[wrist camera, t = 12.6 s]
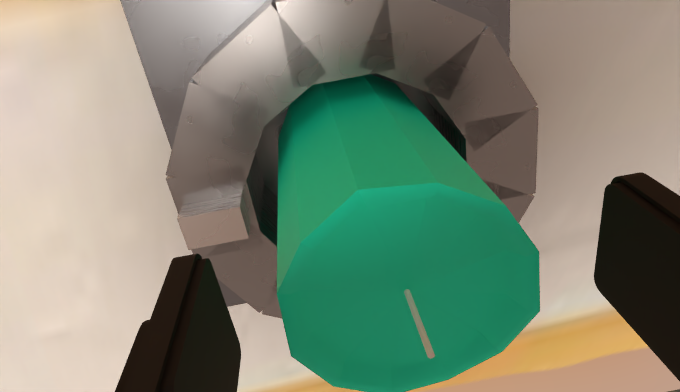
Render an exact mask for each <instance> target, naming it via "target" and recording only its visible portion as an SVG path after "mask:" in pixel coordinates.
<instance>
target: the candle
mask: <svg viewBox="0 0 680 392" xmlns="http://www.w3.org/2000/svg"><path fill="white" fill-rule="evenodd" d="M277 297H278V302H279V306H280V310H281V315H282V319H283V323H284V328H285V332H286V336H287V340H288V345H289V349H290V353H291V356H292V357H293V358H295V359H296V360H297V361H299V362H300V363H302V364H303V365H304V366H306V367H307V368H309V369H310V370H311V371H313V372H314V373H316V374H317V375H318V376H320V377H321V378H322V379H324V380H325V381H327V382H328V383H329V384H331V385H332V386H335V387H341V388H347V389H353V390H359V391H364V392H406V391H409V390H413V389H416V388H420V387H424V386H427V385H431V384H434V383H438V382H441V381H445V380H449V379H450V378H452V377H454V376H456V375H458V374H460V373H462V372H464V371H466V370H468V369H470V368H472V367H474V366H476V365H478V364H479V363H481V362H483V361H485V360H487V359H489V358H491V357H493V356H495V355H497V354H499V353H501V352H502V351H503V350H504V349H505V348H506V347H507V346H508V345H509V344H510V343H511V342H512V341H513V339H514V338H515V337H516V336H517V335H518V334H519V333H520V332H521V331H522V330H523V329H524V328H525V327H526V325H527V324H528V323H529V322H530V321H531V320H532V319H533V318H534V317H535V316H536V315H537V314H538V312H539V311H540V287H539V251H538V249H537V248H536V247H535V245H534V244H533V243H532V241H531V240H530V238H529V237H528V236H527V234H526V233H525V232H524V230H523V229H522V227H521V226H520V225H519V223H518V222H517V221H516V219H515V218H514V216H513V215H512V214H511V212H510V211H509V209H508V208H507V207H506V205H505V204H504V203H503V202H502V201H501V200H500V199H499V198H498V197H497V196H496V194H495V193H494V192H493V191H492V190H491V189H490V188H489V187H488V186H487V184H486V183H485V182H484V181H483V180H482V179H481V178H480V177H479V176H478V174H477V173H476V172H475V171H474V170H473V169H472V168H471V167H470V166H469V165H468V163H467V162H466V161H465V160H464V159H463V158H462V157H461V156H460V155H459V153H458V152H457V151H456V150H455V149H454V148H453V147H452V146H451V145H450V143H449V142H448V141H447V140H446V139H445V138H444V137H443V136H442V135H441V133H440V132H439V131H438V130H437V129H436V128H435V127H434V126H433V125H432V124H431V122H430V121H429V120H428V119H427V118H426V117H425V116H424V115H423V114H422V112H421V111H420V110H419V109H418V108H417V107H416V106H415V105H414V104H413V102H412V101H411V100H410V99H409V98H408V97H407V96H406V95H405V94H404V93H403V91H402V90H401V89H400V88H399V87H398V86H397V85H396V84H395V83H393V82H390V81H387V80H385V79H382V78H380V77H377V76H374V75H372V74H368V75H363V76H357V77H352V78H347V79H341V80H336V81H330V82H325V83H320V84H314V85H312V86H310V87H309V88H308V89H307V90H306V91H305V92H303V93H302V94H301V95H300V96H299V97H298V98H296V99H295V100H294V101H293V102H292V103H290V105H289V108H288V111H287V114H286V117H285V120H284V123H283V126H282V129H281V131H280V134H279V137H278V219H277Z"/></svg>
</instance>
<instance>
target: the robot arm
mask: <svg viewBox="0 0 680 392" xmlns="http://www.w3.org/2000/svg"><path fill="white" fill-rule="evenodd" d="M594 280H595V284H596V286H597V288H598V290H599V291H600V293H601V294H602V295H603V296H604V297H605V298H606V299H607V300H608V301H609V303H610V304H611V305H612V306H613V307H614V308H615V309H616V310H617V312H618V313H619V314H620V315H621V316H622V317H623V318H624V319H625V321H626V322H627V323H628V324H629V325H630V326H631V327H632V328H633V329H634V331H635V332H636V333H637V334H638V335H639V336H640V337H641V338H642V340H643V341H644V342H645V343H646V344H647V345H648V346H649V347H650V349H651V350H652V351H653V352H654V353H655V354H656V355H657V356H658V357H659V358H660V360H661V361H662V362H663V363H664V364H665V365H666V366H667V368H668V369H669V370H670V371H671V372H672V373H673V374H674V375H675V376H676V377H677V379H678V380H679V381H680V196H679V195H677V194H676V193H674V192H673V191H671V190H670V189H668V188H667V187H665V186H663V185H662V184H660V183H659V182H657V181H656V180H654V179H653V178H651V177H650V176H648V175H646V174H644V173H635V174H629V175H624V176H618V177H615V178H614V179H613V180H612V182H611V184H609V185H607V186H606V188H605V192H604V200H603V208H602V216H601V224H600V232H599V240H598V247H597V255H596V263H595V271H594ZM240 360H241V349H240V343H239V340H238V337H237V334H236V331H235V328H234V326H233V323H232V320H231V317H230V314H229V311H228V308H227V306H226V303H225V300H224V297H223V294H222V291H221V289H220V286H219V283H218V280H217V277H216V274H215V271H214V269H213V266H212V263H211V261H210V259H209V258H205V259H202V257H201V256H200V254H193V255H187V256H182V257H176V258H173V260H172V262H171V265H170V267H169V270H168V273H167V275H166V278H165V281H164V284H163V286H162V289H161V292H160V294H159V297H158V300H157V303H156V305H155V308H154V311H153V313H152V316H151V319H150V320H146V321H145V322H143V323H142V325H141V327H140V328H139V331H138V333H137V336H136V339H135V341H134V344H133V346H132V349H131V351H130V354H129V357H128V359H127V362H126V364H125V367H124V369H123V372H122V375H121V377H120V380H119V382H118V385H117V387H116V390H115V392H237V386H238V377H239V369H240ZM668 392H680V390H674V391H668Z"/></svg>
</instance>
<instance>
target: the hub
mask: <svg viewBox="0 0 680 392" xmlns="http://www.w3.org/2000/svg"><path fill="white" fill-rule="evenodd" d="M120 1H121V4H122V7H123V10H124V12H125V15H126V18H127V21H128V24H129V27H130V30H131V33H132V36H133V39H134V42H135V44H136V47H137V50H138V53H139V56H140V59H141V62H142V65H143V68H144V71H145V74H146V76H147V79H148V82H149V85H150V88H151V91H152V94H153V97H154V100H155V103H156V106H157V108H158V111H159V114H160V117H161V120H162V123H163V126H164V129H165V132H166V135H167V138H168V140H169V143H170V146H171V149H172V152H171V156H170V160H169V164H168V168H167V172H166V175H168V176H167V178H166V180H167V183H168V186H169V189H170V191H171V194H172V197H173V200H174V203H175V205H176V208H177V211H178V214H179V216H178V218H177V219H178V222H179V225H180V228H181V230H182V233H183V236H184V239H185V241H186V244H187V247H188V250H192V252H193V254H200V256H201V257H202V259H205V258H209V259H210V261H211V263H212V266H213V269H214V271H215V274H216V277H217V280H218V283H219V286H220V289H221V291H222V294H223V297H224V300H225V303H226V306H227V307H228V306H233V305H238V304H243V303H248V304H249V305H250V306H252V307H253V308H254V309H255V310H257V311H258V312H261V311H262V310H263V313H262V314H264V315H269V316H273V317H278V318H282V315H281V310H280V306H279V302H278V297H277V219H278V137H279V134H280V131H281V129H282V126H283V123H284V120H285V117H286V114H287V111H288V108H289V105H290V103H292V102H293V101H294V100H295V99H296V98H298V97H299V96H300V95H301V94H302V93H303V92H305V91H306V90H307V89H308V88H309V87H310V86H312V85H314V84H320V83H325V82H330V81H336V80H341V79H347V78H352V77H357V76H363V75H368V74H372V75H374V76H377V77H380V78H382V79H385V80H387V81H390V82H393V83H395V84H396V85H397V86H398V87H399V88H400V89H401V90H402V91H403V93H404V94H405V95H406V96H407V97H408V98H409V99H410V100H411V101H412V102H413V104H414V105H415V106H416V107H417V108H418V109H419V110H420V111H421V112H422V114H423V115H424V116H425V117H426V118H427V119H428V120H429V121H430V122H431V124H432V125H433V126H434V127H435V128H436V129H437V130H438V131H439V132H440V133H441V135H442V136H443V137H444V138H445V139H446V140H447V141H448V142H449V143H450V145H451V146H452V147H453V148H454V149H455V150H456V151H457V152H458V153H459V155H460V156H461V157H462V158H463V159H464V160H465V161H466V162H467V163H468V165H469V166H470V167H471V168H472V169H473V170H474V171H475V172H476V173H477V174H478V176H479V177H480V178H481V179H482V180H483V181H484V182H485V183H486V184H487V186H488V187H489V188H490V189H491V190H492V191H493V192H494V193H495V194H496V196H497V197H498V198H499V199H500V200H501V201H502V202H503V203H504V204H505V205H506V207H507V208H508V209H509V211H510V212H511V214H512V215H513V216H514V218H515V219H516V221H517V222H518V223H519V221H520V220H521V218H522V216H523V215H524V213H525V211H526V210H527V208H528V206H529V205H530V203H531V201H532V200H533V198H534V196H533V195H532V194H533V193H535V190H536V162H537V133H538V108H537V107H535V106H536V105H537V103H536V102H535V100H534V98H533V97H532V95H531V93H530V92H529V90H528V89H527V87H526V85H525V84H524V82H523V80H522V79H521V77H520V76H519V74H518V72H517V71H516V69H515V67H514V66H513V64H512V63H511V61H510V59H509V32H510V0H120Z"/></svg>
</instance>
